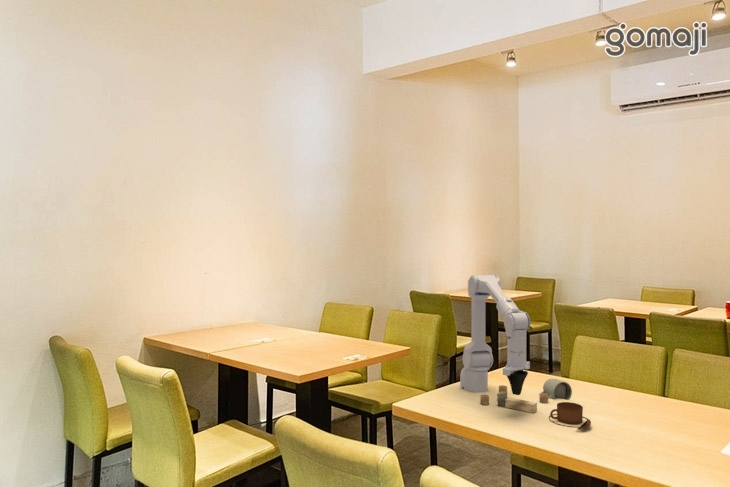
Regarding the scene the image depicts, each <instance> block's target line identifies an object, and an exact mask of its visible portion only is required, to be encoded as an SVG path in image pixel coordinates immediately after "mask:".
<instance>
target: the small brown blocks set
mask: <svg viewBox="0 0 730 487" xmlns="http://www.w3.org/2000/svg"><path fill="white" fill-rule="evenodd" d="M539 394H540V395H539V403H540V404H549V399H548V394H547V393H541V392H540V393H539ZM498 396H507V397H508V386H507V385H502V384H501V385H498V393H497V394H496V397H497V398H496V402H498ZM479 399H480V400H479V401H480V402H479V403H480V405H481V406H485V407H486V406H489V405H490V396H489V395H487V394H480V397H479Z"/></svg>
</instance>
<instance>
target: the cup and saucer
mask: <svg viewBox="0 0 730 487" xmlns="http://www.w3.org/2000/svg"><path fill="white" fill-rule="evenodd" d="M583 410H584V407H583V405H581V404H579V403H576V402H570V401H566V402H565V401H561V402H557V404H556V408H553V409H552V410H551V411H550V412H549V416H548V419H549V421H550V422H551V423H553V424H555V425H558V426H562V427H567V428H575V426H572V425H579V424H581V425H580V426H578V427H577V428H576V430H577V431H578V430H585V429H586V428H589V427H590V426H591V425H592V421H591V420H590V419H589V418H587V417H585V416H584V415H583V413H584V412H583ZM554 412H556V413H554ZM551 419H552V420H551ZM583 419H585V421H584V422H583ZM553 420H558V421H559V422H560V423H556V422H554V421H553ZM561 423H562V424H561ZM565 424H567V425H565Z"/></svg>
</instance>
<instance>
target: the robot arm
mask: <svg viewBox="0 0 730 487" xmlns="http://www.w3.org/2000/svg"><path fill="white" fill-rule="evenodd" d="M467 294H468V297H469V298H471V327H470V328H471V330H470V331H471V339H470V340H471V341H470V342H469V343H467V344H466V345H465V346H464V347H463V354H462V364H463V368H462V369H461V371H460V376H459V377H460V379H459V380H460V382H459V389H460V390H465V391H468V392H473V393H486V392H488V382H489V381H488V380H489V378H488V377H489V374H488V373H489V372H488V371H489V370H490V368H492V365H493V363H494V357H493V353H492V352H493V350H492V347H491V346H490V345H488V344H487V343H486V301H487V299H488V298H489V297H491V298H492V299H493V301H494V302H495V303H496V310H497V312H498V313H499V315H501V317H502V319H503V324H504V325H503V327H504V329H505V335H506V338H507V339H506V340H507V341H506V343H507V347H506V348H507V350H506V351H507V353H506V354H507V355H506V357H507V359H506V361H507V362H506V365H505V366H504V367H503V368H502V375H503V376H506V378H507V379H508V382H509V384H510V389H511V392H512V394H513V395H515V396H520V395H521V393H522V390H523V387H524V383H525V380H526V378H527V376H528V373H529V372H528V371H527V370H530V368H531V366H530V365H531V361H527V331H528V330H529V329H530V328H531V318H530V316H529V314H528V312H527V311H523V310H520V309H519V308H518V306H517V304H516V303H515V302H514V300H513V299H512V298H511V297H506V295H505V293H504V291H503V289H502V288H501V279H500V277H499V276H498V275H497V274H479V275H478V274H472V275H471V276H470V277H469V279H468V281H467Z"/></svg>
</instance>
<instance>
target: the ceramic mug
mask: <svg viewBox="0 0 730 487" xmlns="http://www.w3.org/2000/svg"><path fill="white" fill-rule="evenodd" d="M542 390H543V391H541V392H540V393H547V394H548V400H550V399H552V400H553V399H554V400H557V399H561V400H567V401H569V400H570V399H571V398H572V395H573V389H572V387H571V385H570V384H569V382H567V381H564V380H560V379H557V378H548V379H547V380H545V382H544V384H543V386H542ZM540 393H539V394H538V396H540Z"/></svg>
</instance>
